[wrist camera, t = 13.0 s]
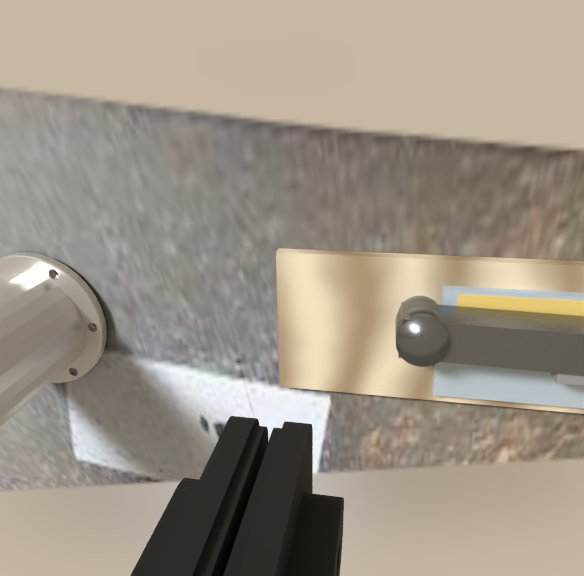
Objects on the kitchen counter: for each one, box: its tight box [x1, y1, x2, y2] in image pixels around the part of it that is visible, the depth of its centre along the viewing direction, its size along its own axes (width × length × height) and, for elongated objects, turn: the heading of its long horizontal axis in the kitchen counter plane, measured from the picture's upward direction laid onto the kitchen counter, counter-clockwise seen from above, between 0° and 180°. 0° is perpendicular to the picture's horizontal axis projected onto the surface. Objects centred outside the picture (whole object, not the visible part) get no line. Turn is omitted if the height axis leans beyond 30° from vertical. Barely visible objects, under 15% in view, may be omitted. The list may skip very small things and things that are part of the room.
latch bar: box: [395, 299, 584, 376], centre depth 35 cm, size 14×4×4 cm, turn 89°
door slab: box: [432, 286, 584, 408], centre depth 36 cm, size 12×9×4 cm
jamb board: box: [276, 248, 584, 414], centre depth 39 cm, size 25×12×1 cm, turn 91°
